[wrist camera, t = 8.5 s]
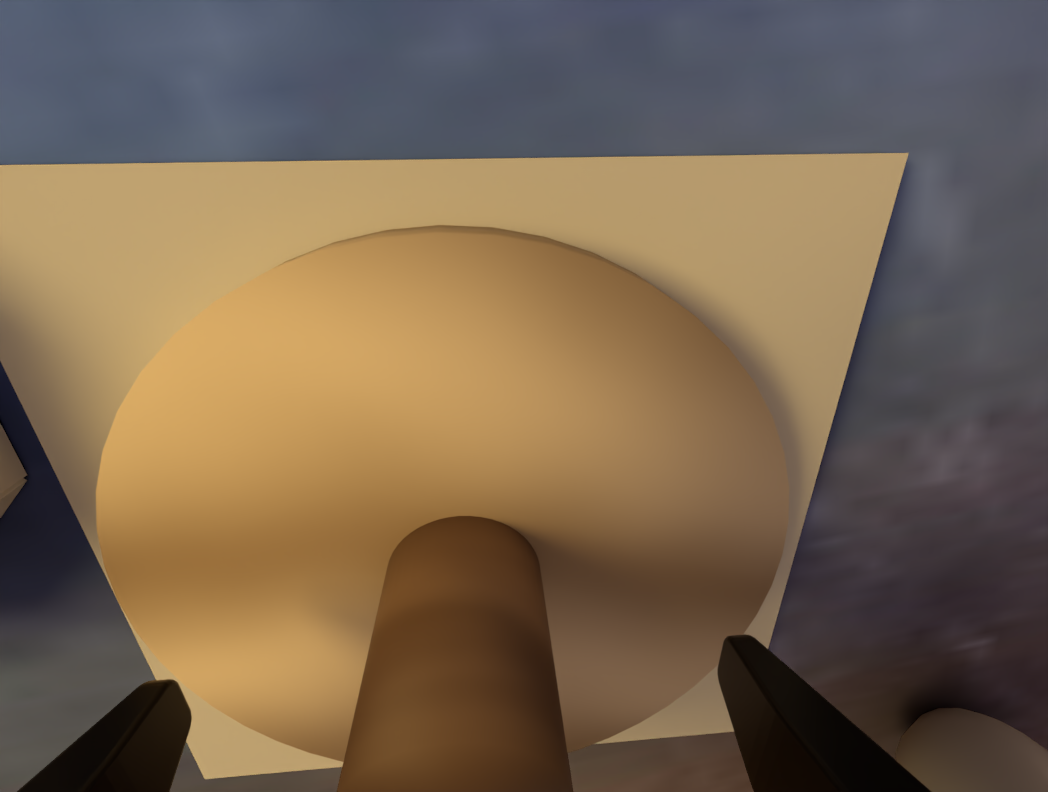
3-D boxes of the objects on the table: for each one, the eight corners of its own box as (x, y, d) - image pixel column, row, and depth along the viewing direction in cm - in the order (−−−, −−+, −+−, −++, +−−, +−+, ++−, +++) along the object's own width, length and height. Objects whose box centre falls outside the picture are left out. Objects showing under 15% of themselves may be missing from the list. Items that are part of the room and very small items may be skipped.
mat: (737, 713, 15) (745, 730, 15) (213, 759, 14) (205, 778, 14) (886, 152, 9) (908, 153, 8) (-61, 165, 8) (-95, 166, 7)
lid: (714, 708, 14) (825, 968, 10) (231, 752, 13) (102, 1060, 9) (829, 215, 8) (1225, 280, 4) (6, 234, 8) (-674, 347, 3)
